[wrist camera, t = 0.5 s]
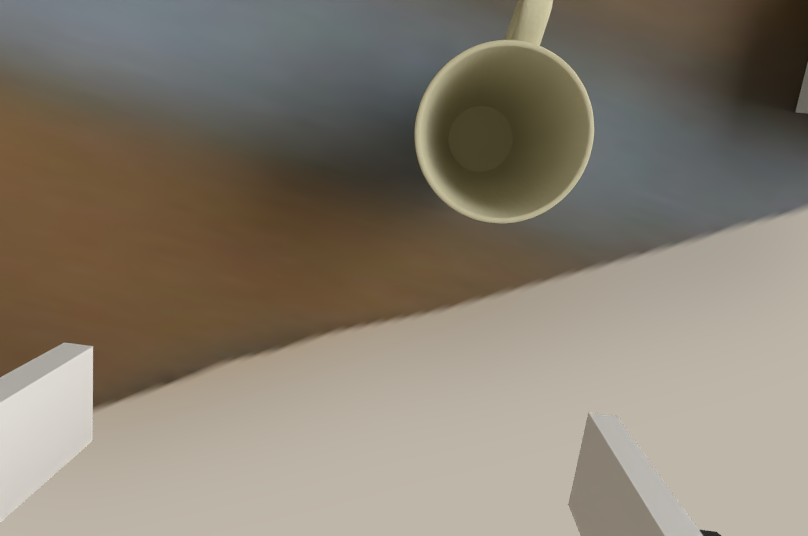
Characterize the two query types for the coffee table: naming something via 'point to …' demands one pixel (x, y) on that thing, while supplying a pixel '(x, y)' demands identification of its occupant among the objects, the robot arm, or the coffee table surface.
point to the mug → (505, 125)
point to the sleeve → (803, 95)
